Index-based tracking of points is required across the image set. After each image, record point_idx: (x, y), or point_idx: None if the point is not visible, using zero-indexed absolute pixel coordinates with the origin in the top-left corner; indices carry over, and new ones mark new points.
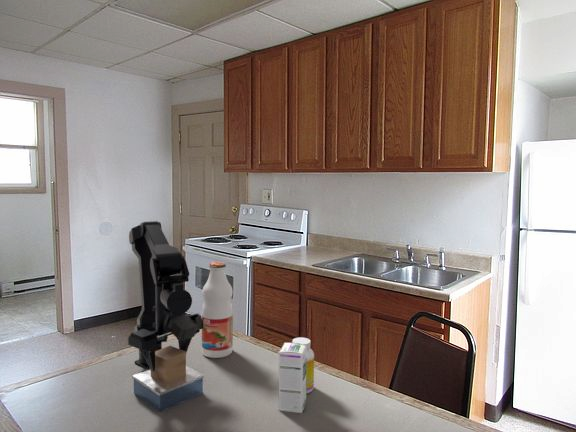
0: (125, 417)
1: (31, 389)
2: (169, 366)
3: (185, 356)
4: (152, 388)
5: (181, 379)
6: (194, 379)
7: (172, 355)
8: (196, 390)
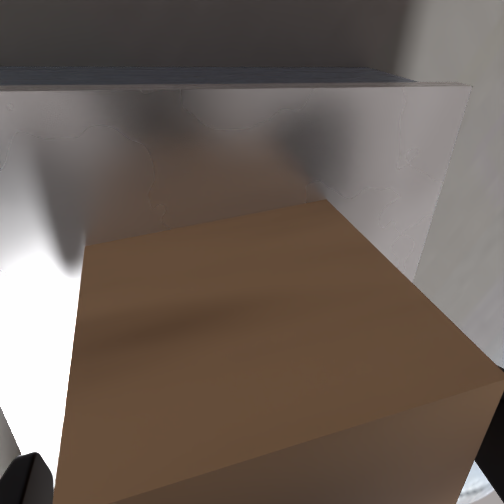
0: (490, 157)
1: (472, 474)
2: (371, 303)
3: (72, 422)
4: (435, 202)
5: (178, 184)
6: (45, 88)
7: (345, 460)
8: (32, 74)
